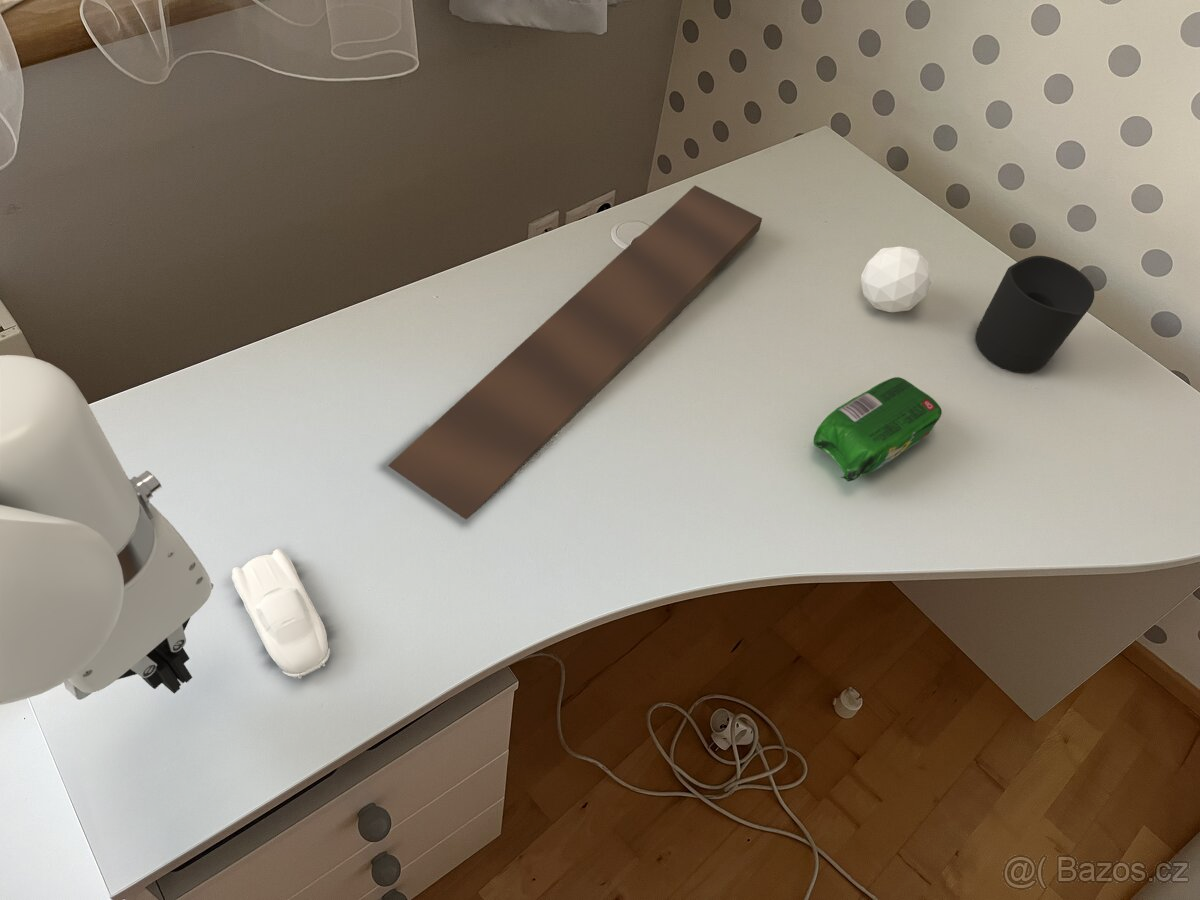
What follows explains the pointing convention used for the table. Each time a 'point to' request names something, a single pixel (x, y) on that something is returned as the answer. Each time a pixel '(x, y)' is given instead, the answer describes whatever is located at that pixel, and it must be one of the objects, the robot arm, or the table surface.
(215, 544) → the table surface
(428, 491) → the ramp
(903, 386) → the snack package
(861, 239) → the table surface
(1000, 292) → the pen holder
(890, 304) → the geometric ball
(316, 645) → the toy car
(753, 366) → the table surface
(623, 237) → the table surface
